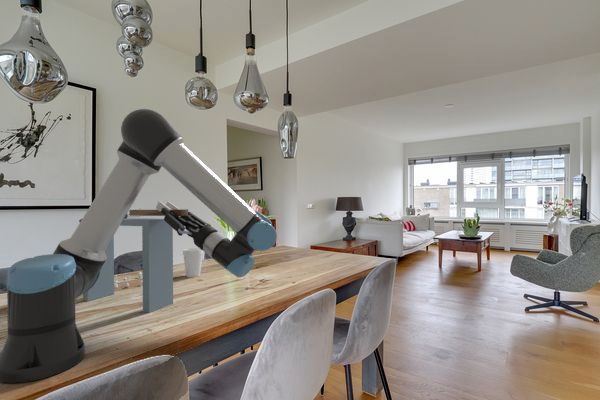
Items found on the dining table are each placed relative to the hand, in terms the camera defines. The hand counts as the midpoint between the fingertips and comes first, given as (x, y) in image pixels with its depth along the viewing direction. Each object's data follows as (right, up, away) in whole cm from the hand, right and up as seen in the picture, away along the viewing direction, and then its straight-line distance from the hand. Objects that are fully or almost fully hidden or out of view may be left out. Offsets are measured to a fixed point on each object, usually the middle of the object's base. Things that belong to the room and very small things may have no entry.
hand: (162, 204), depth 107 cm
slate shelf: (-16, -35, +7) cm, 39 cm away
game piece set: (-28, -36, +35) cm, 58 cm away
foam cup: (-6, -36, +47) cm, 59 cm away
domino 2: (-19, -5, +8) cm, 21 cm away
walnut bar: (-2, -4, +1) cm, 4 cm away
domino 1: (-29, -3, +13) cm, 31 cm away
